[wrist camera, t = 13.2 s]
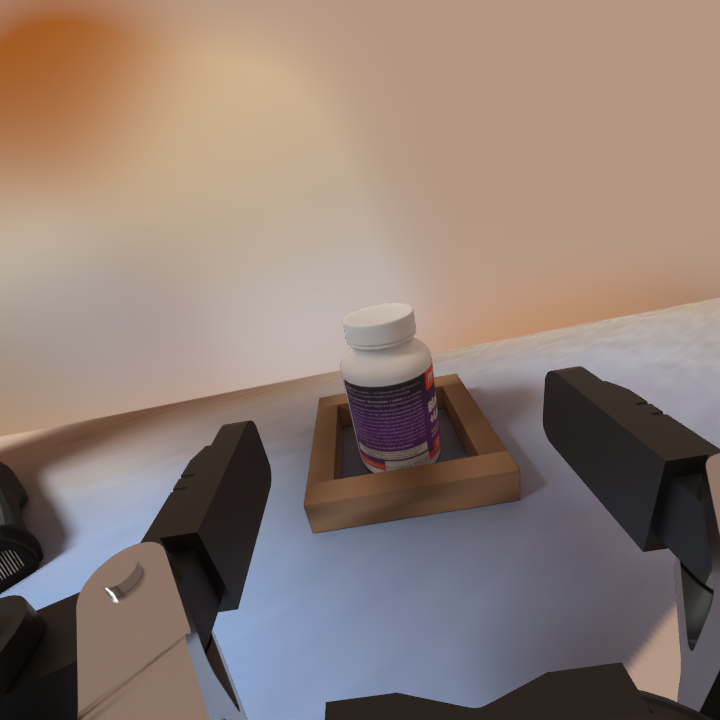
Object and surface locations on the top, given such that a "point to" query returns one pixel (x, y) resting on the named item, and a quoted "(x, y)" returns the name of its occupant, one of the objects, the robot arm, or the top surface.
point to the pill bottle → (390, 388)
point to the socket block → (408, 470)
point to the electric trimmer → (15, 533)
